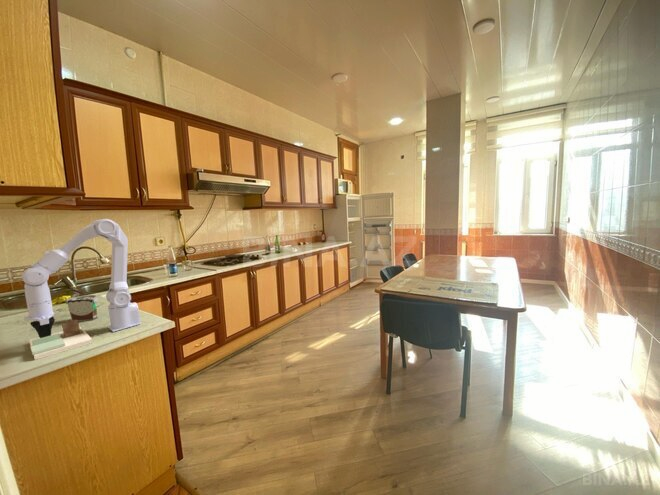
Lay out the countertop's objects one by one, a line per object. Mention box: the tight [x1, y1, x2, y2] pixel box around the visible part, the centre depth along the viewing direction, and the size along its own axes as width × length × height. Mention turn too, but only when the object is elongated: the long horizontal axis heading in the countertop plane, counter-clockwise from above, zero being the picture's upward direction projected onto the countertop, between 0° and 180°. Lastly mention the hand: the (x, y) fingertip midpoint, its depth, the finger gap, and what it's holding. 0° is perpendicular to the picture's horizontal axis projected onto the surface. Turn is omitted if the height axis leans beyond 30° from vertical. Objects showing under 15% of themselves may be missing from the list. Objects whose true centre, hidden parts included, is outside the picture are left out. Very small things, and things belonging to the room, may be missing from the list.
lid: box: [29, 334, 65, 356], centre depth 90 cm, size 8×8×3 cm
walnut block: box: [61, 319, 81, 339], centre depth 101 cm, size 4×4×6 cm
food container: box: [65, 294, 99, 322], centre depth 122 cm, size 12×6×10 cm, turn 92°
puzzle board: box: [28, 326, 93, 361], centre depth 97 cm, size 14×20×1 cm
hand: (45, 339), depth 93 cm, fingers closed
